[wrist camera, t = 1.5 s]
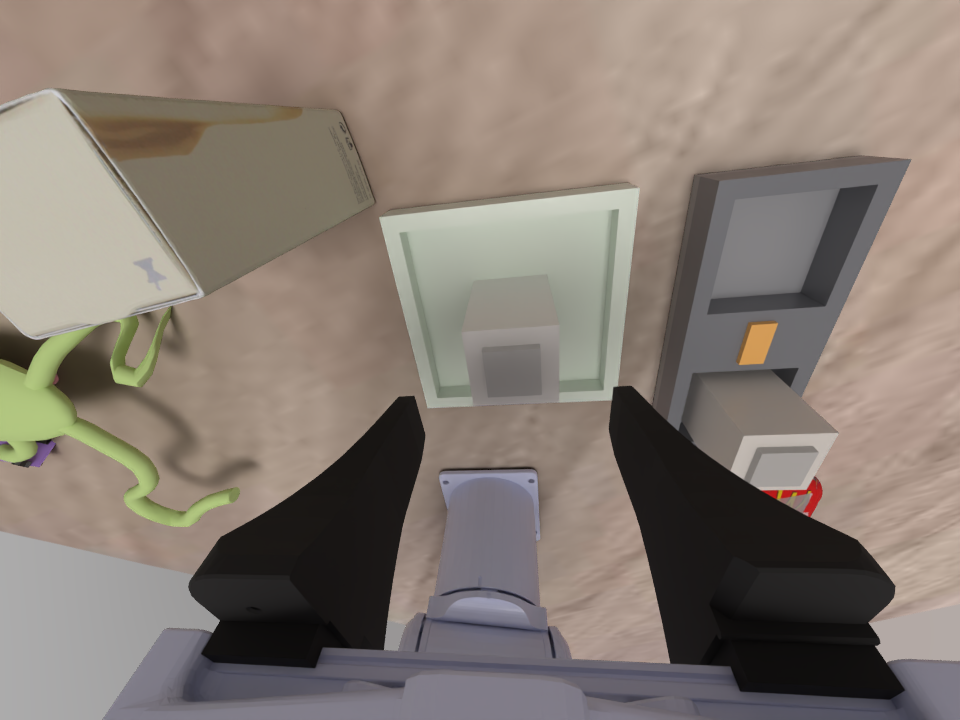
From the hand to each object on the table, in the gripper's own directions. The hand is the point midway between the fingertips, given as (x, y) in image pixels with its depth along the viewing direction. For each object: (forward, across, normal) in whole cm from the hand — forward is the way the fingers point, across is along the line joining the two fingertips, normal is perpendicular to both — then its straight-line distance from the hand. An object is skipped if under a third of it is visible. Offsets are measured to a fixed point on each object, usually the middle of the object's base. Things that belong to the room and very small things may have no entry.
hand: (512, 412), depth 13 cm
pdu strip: (+10, -12, +2) cm, 16 cm away
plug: (+9, 0, 0) cm, 9 cm away
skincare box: (+10, +10, -8) cm, 16 cm away
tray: (+10, 0, 0) cm, 10 cm away
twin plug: (+9, -12, +7) cm, 17 cm away
